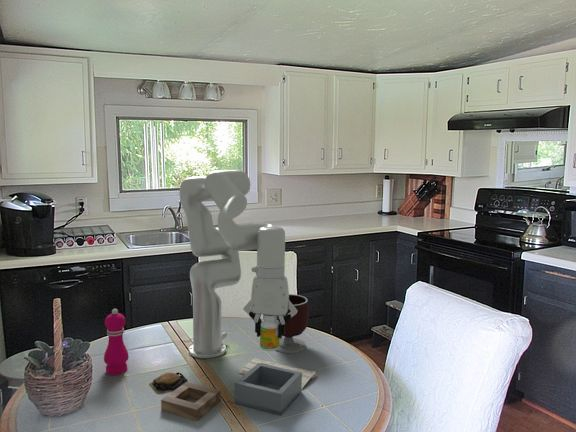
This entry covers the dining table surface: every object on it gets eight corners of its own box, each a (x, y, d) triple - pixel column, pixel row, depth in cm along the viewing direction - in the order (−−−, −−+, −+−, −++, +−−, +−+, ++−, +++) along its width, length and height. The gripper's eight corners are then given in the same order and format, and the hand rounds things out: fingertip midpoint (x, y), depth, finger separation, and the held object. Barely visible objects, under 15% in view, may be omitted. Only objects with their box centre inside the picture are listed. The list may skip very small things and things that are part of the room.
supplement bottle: (256, 349, 135) (256, 315, 134) (265, 342, 140) (266, 309, 139) (273, 352, 133) (274, 318, 132) (282, 346, 138) (283, 312, 137)
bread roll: (157, 397, 139) (156, 384, 139) (147, 384, 146) (147, 373, 146) (192, 387, 145) (192, 375, 145) (181, 375, 152) (181, 364, 152)
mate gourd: (279, 336, 184) (280, 284, 182) (313, 342, 179) (315, 289, 176) (259, 351, 171) (260, 295, 168) (296, 358, 165) (297, 301, 162)
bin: (258, 381, 148) (258, 362, 147) (301, 392, 142) (301, 372, 142) (234, 403, 135) (234, 382, 135) (280, 415, 130) (281, 394, 129)
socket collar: (186, 391, 141) (186, 381, 141) (220, 400, 137) (220, 390, 136) (161, 410, 131) (161, 399, 131) (197, 420, 127) (197, 409, 126)
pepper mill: (121, 377, 149) (119, 313, 147) (99, 374, 151) (97, 311, 148) (133, 366, 156) (131, 306, 154) (112, 364, 158) (110, 304, 155)
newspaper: (318, 375, 155) (318, 368, 154) (301, 396, 144) (301, 388, 144) (256, 359, 165) (256, 352, 164) (236, 377, 154) (236, 370, 154)
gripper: (236, 273, 132) (236, 338, 134) (300, 277, 129) (298, 343, 131) (243, 267, 139) (243, 328, 141) (303, 270, 136) (302, 333, 139)
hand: (270, 335), depth 136 cm, fingers closed on supplement bottle, 5 cm apart
